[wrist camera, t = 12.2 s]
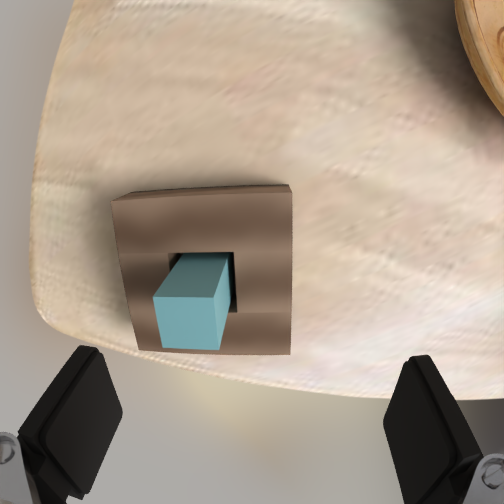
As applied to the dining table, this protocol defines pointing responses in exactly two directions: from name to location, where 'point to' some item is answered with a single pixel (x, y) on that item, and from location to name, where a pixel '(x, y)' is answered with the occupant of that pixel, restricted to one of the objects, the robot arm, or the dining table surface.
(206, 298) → the peg
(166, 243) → the bore block
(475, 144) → the dining table surface
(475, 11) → the ceramic bowl
